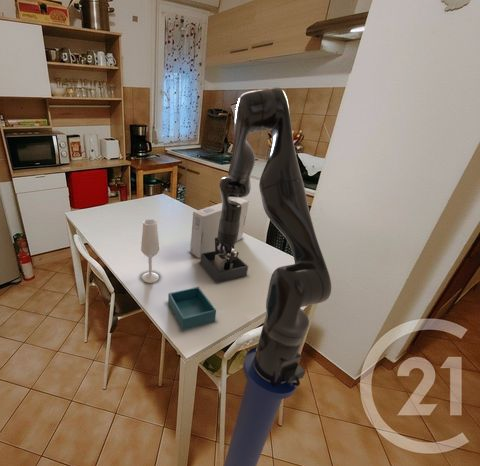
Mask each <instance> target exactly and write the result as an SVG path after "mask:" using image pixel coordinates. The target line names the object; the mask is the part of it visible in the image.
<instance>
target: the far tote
mask: <svg viewBox="0 0 480 466" xmlns="http://www.w3.org/2000/svg"><path fill="white" fill-rule="evenodd" d="M229 254H230V253H229ZM215 255H217V252H216V251H213V252H207V253H202V254H201V257H200V264H201V265H202V266H203V268H204V269H205V270H206V271H207V272H208V273H209V275H210V276H211V277H212V278H213V279H214V280H215V282H216V283H220V282H227V281H230V280H235V279H239V278H243V277H247V274H248V270H249V266H248V264H247V263H245V262H244V261H243V260H242V259H241V258H240V257H239V256H238V257H237V259H236V261H235V263H233V267H232V269H229V270H225V271H220V272H219V271H218V270H217V269H216V268H215V266H214V260H215Z"/></svg>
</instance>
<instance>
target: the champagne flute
mask: <svg viewBox="0 0 480 466" xmlns="http://www.w3.org/2000/svg"><path fill="white" fill-rule="evenodd" d="M141 232H142V233H141V244H140V245H141V246H140V250H141V253H142V254H143V255H144V256H146V257H148V272H146V273H143V274H142V276H141V280H142V281H143V282H145V283H149V284H152V283H156V282H157V281H159V279H160V276H159V275H158V274H157V273H156V272H153V257H155V256H156V255H157V254H158V253H159V252H160V242H159V241H160V240H159V231H158V221H157V220H156V219H152V218H150V219H149V218H147V219H144V220H143V222H142V231H141Z"/></svg>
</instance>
